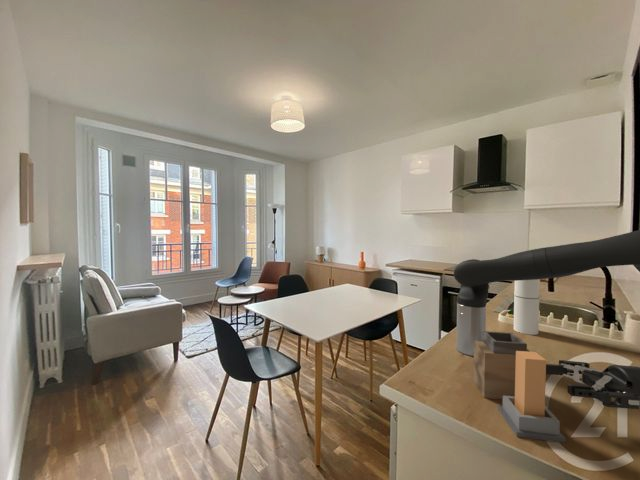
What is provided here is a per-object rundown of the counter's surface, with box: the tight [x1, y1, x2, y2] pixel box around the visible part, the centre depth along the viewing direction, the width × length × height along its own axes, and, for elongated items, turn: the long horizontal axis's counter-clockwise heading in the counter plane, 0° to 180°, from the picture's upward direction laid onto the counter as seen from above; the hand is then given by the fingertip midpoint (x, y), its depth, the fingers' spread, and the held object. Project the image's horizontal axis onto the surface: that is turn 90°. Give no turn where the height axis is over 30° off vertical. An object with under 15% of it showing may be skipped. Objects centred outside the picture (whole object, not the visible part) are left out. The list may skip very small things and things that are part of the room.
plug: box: [515, 351, 547, 417], centre depth 62 cm, size 4×4×15 cm
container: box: [513, 279, 541, 336], centre depth 117 cm, size 9×9×30 cm
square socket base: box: [472, 330, 531, 400], centre depth 74 cm, size 8×12×15 cm, turn 79°
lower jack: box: [497, 396, 566, 443], centre depth 62 cm, size 9×9×4 cm
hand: (555, 378), depth 60 cm, fingers open, 8 cm apart
